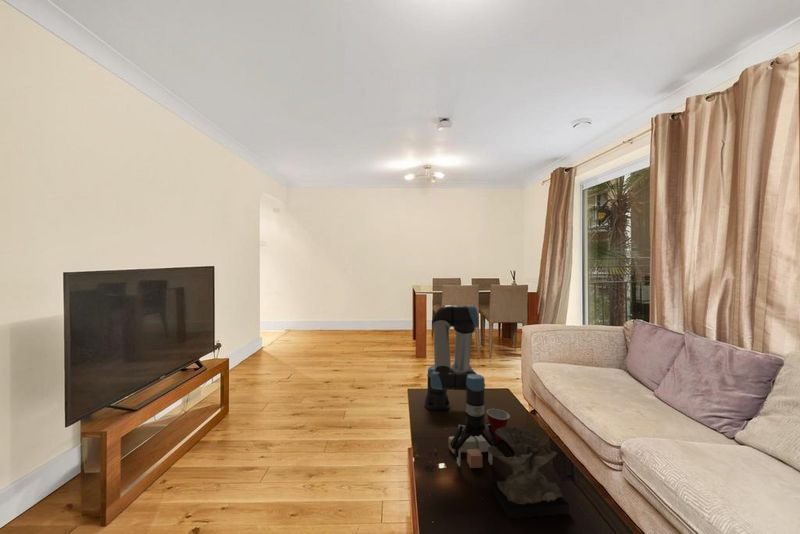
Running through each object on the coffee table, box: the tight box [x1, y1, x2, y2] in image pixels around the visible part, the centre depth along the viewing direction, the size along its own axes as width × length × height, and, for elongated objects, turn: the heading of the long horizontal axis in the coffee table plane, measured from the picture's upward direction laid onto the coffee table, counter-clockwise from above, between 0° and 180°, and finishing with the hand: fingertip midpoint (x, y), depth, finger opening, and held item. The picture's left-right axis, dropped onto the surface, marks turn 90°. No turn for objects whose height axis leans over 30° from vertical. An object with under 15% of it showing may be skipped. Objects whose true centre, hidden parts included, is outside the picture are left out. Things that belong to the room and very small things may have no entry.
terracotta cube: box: [466, 449, 483, 469], centre depth 139 cm, size 5×5×5 cm
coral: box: [488, 426, 570, 519], centre depth 120 cm, size 25×20×22 cm
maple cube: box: [448, 435, 465, 455], centre depth 150 cm, size 5×5×5 cm
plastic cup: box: [486, 408, 511, 441], centre depth 161 cm, size 11×11×12 cm
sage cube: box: [463, 436, 476, 454], centre depth 150 cm, size 5×5×5 cm
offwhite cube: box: [474, 435, 490, 453], centre depth 151 cm, size 5×5×5 cm
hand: (474, 463), depth 139 cm, fingers open, 13 cm apart
